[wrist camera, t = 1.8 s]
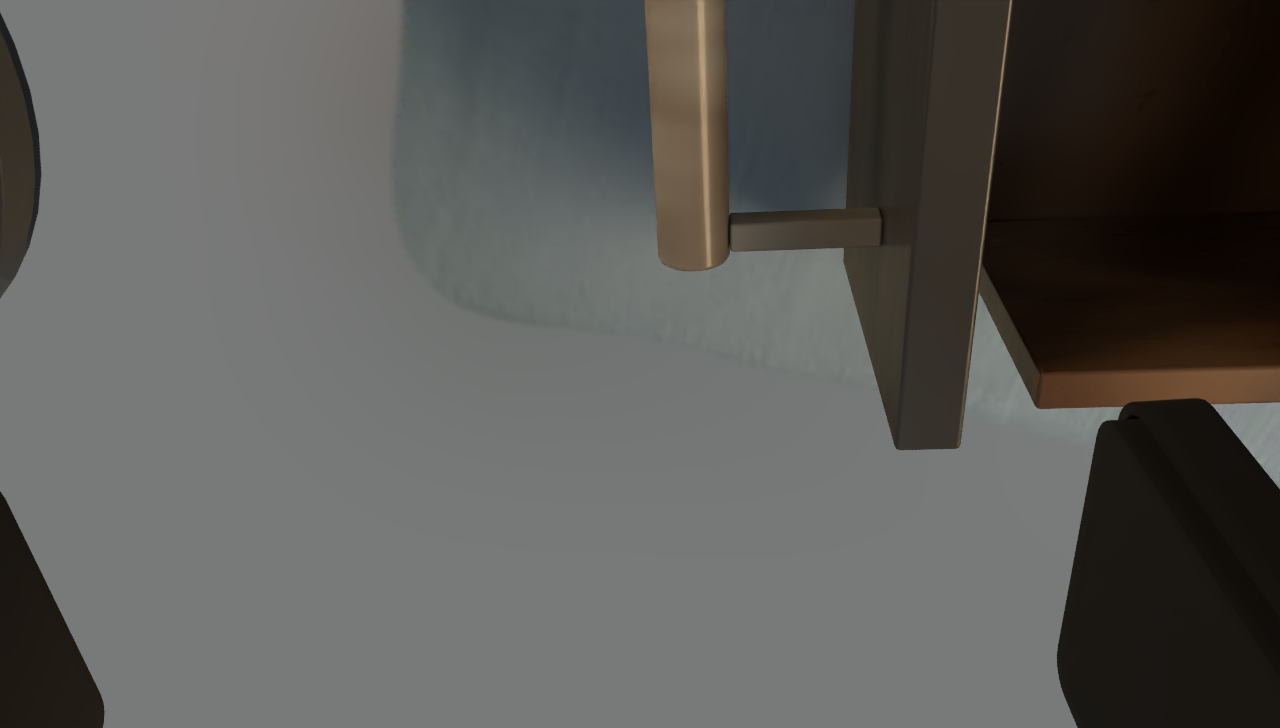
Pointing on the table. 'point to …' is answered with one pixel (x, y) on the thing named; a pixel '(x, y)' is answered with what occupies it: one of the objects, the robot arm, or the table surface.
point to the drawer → (1020, 194)
